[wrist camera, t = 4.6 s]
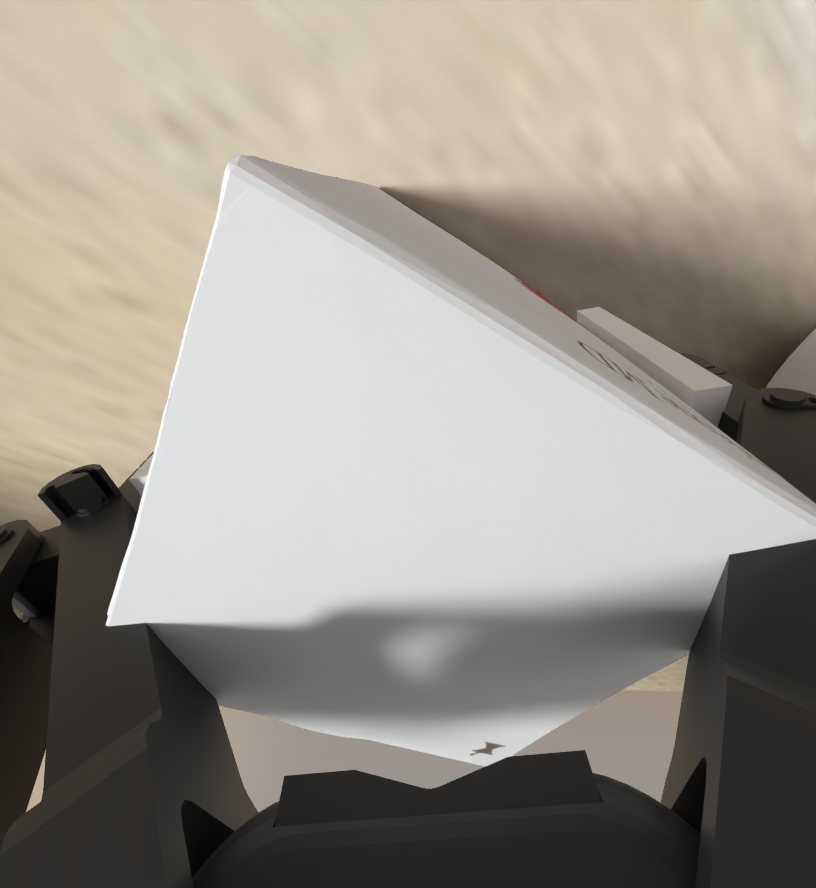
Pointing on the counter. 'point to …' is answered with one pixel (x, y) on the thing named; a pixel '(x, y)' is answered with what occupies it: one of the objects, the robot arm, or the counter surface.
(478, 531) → the supplement box
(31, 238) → the counter surface
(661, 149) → the counter surface
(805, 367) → the serving bowl
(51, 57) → the counter surface
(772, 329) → the counter surface
